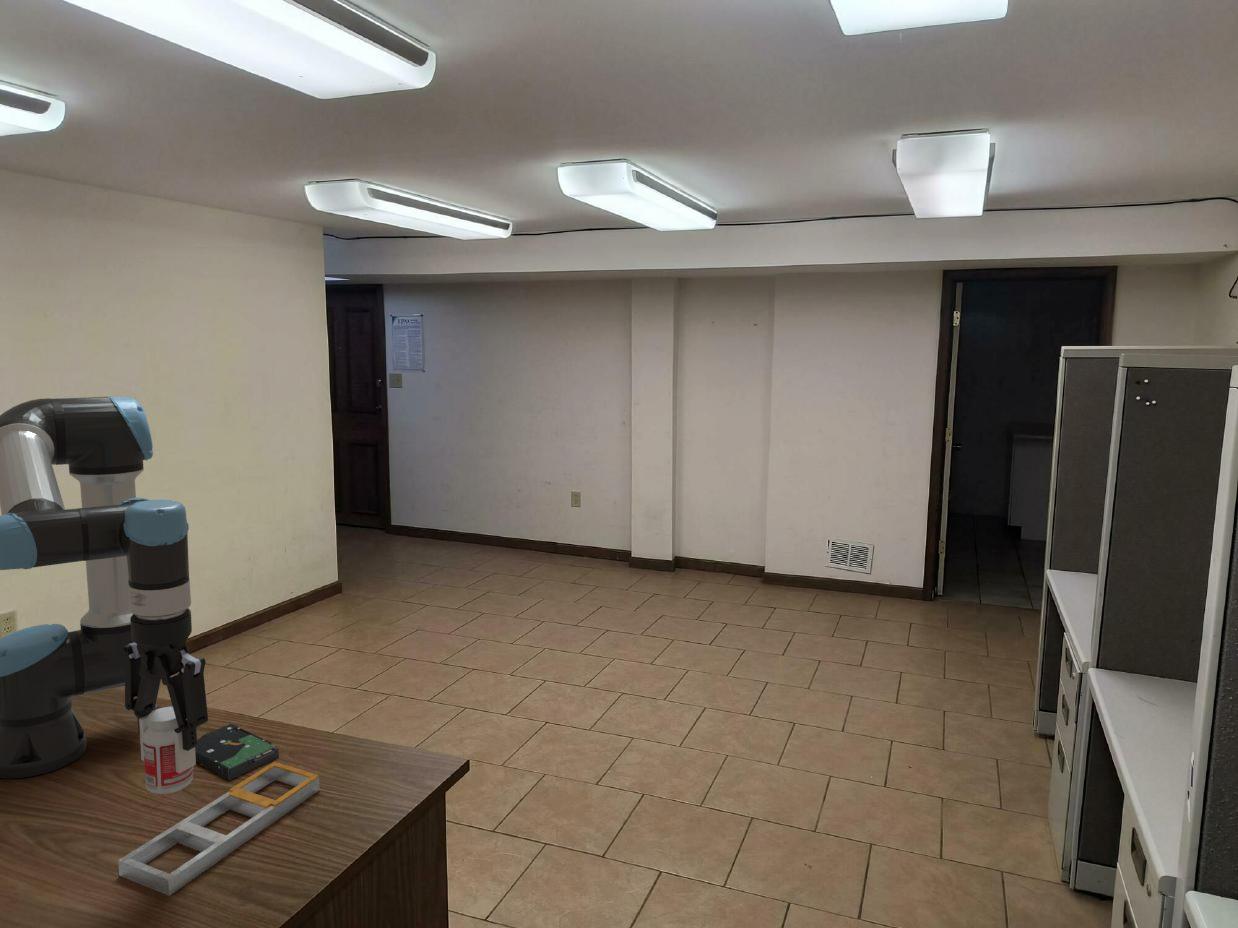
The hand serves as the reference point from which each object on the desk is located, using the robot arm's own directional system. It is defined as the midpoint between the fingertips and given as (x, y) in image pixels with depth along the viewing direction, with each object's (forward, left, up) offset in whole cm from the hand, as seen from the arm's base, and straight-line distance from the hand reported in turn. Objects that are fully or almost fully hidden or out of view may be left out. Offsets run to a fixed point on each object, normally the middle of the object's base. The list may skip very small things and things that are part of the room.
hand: (168, 761), depth 122 cm
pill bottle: (0, 0, -4) cm, 4 cm away
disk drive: (-17, +27, -17) cm, 36 cm away
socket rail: (0, +10, -17) cm, 19 cm away
